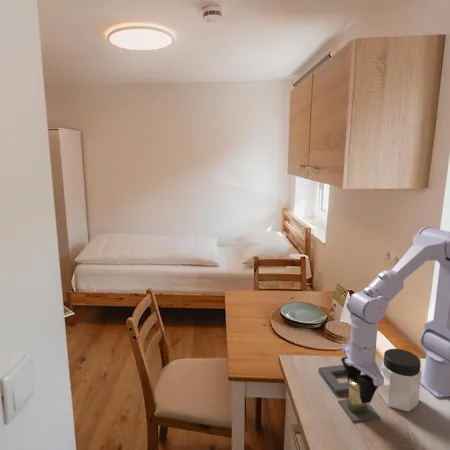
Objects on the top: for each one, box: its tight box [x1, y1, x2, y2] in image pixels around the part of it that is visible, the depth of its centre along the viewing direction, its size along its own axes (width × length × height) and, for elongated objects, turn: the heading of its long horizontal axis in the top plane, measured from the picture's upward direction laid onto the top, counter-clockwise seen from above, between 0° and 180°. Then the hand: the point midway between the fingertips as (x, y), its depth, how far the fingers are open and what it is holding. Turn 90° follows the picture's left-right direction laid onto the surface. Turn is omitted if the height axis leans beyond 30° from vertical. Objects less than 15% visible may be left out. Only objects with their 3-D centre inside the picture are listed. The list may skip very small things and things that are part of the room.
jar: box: [378, 348, 423, 412], centre depth 86 cm, size 9×8×12 cm
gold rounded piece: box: [347, 376, 368, 415], centre depth 83 cm, size 5×5×7 cm
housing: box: [318, 364, 349, 396], centre depth 94 cm, size 10×10×2 cm
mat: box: [337, 398, 381, 423], centre depth 84 cm, size 7×7×1 cm
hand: (359, 393), depth 83 cm, fingers closed on gold rounded piece, 5 cm apart
